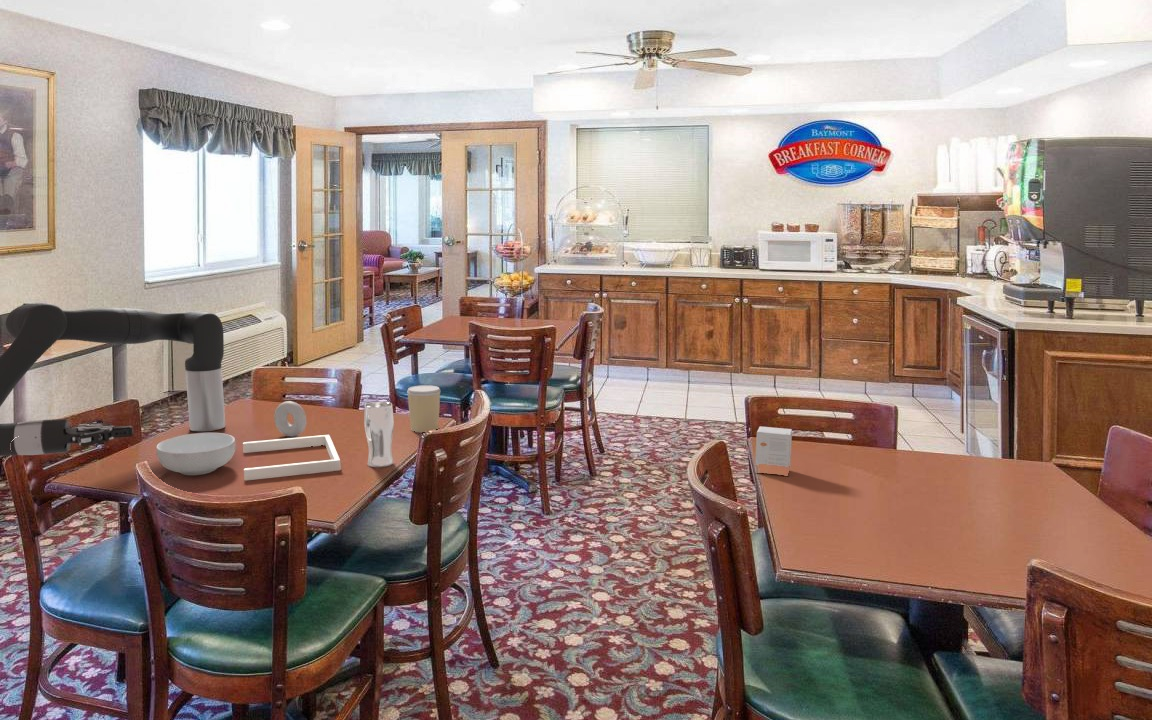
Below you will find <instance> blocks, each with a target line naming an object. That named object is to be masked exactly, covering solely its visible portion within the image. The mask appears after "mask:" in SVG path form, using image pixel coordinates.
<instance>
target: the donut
mask: <svg viewBox="0 0 1152 720" xmlns="http://www.w3.org/2000/svg"><path fill="white" fill-rule="evenodd" d="M274 411H275V412H274V414H273V415H274V417H273V418H274V419H273V420H274V424H275V426H276V428H277V430H278V431H279V432H280V433H281V434H282V435H283V436H286V437H288V438H296V437H298V436H299V435H301V434H302V433H303V432H304V431H305V428H306V427H307V415H306V413H305V410H304V409H303V407H302V406H301V405H300V404H299V403H297V402H295V401H291V400H288V401H287V400H286V401H283V402H281V403H280V404H279V405H278V406H277V407H276V409H275V410H274ZM289 414H290V415H291V417H292V418H293V423H292V424H291V423H290V422H289V421H288V415H289Z"/></svg>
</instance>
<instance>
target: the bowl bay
mask: <svg viewBox="0 0 1152 720" xmlns="http://www.w3.org/2000/svg"><path fill="white" fill-rule="evenodd" d="M321 445H323V446H325V447H326V450H327V453H328V456H329V458H330V459H326V460H325V459H323V460H314V461H306V462H305V461H303V462H296V463H285V464H275V465H268V466H265V465H264V466H257V467H246V468H243V476H244V477H243V479H244V481H245V482H246V481H252V480H253V481H254V480H255V481H256V480H264V479H273V478H280V477H281V478H282V477H289V476H300V475H309V474H311V475H312V474H318V473H327V472H328V473H329V472H334V471H335V472H337V471H338V472H339V471H341V468H342V467H341V459H340V457H339V455H338V454H339V453H338V452H337V450H336V447H335V445H334V442H333V440H332V438H331V436H330V434H323V435H313V436H311V435H309V436H300V437H299V436H296V437H287V438H277V439H267V440H255V441H245V442H242V450H243V454H247V453H257V452H268V451H269V452H270V451H279V450H290V449H301V448H309V447H310V448H311V446H313V447H321Z"/></svg>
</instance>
